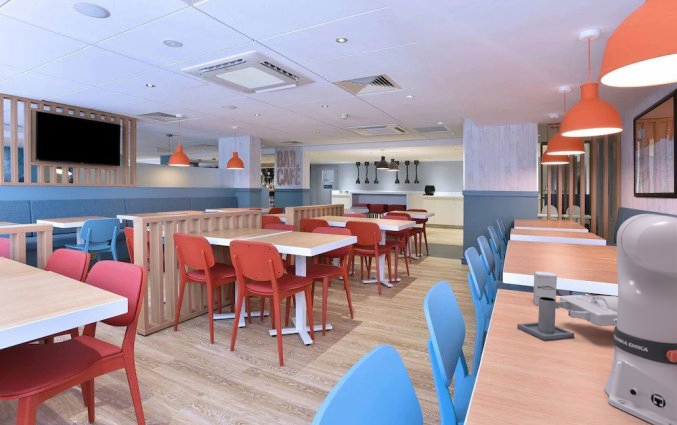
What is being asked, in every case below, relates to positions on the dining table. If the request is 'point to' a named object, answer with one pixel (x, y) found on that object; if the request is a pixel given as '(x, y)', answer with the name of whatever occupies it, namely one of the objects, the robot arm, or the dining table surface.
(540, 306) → the grey cylindrical container
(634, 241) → the robot arm
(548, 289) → the supplement box
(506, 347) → the dining table surface
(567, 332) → the tray
